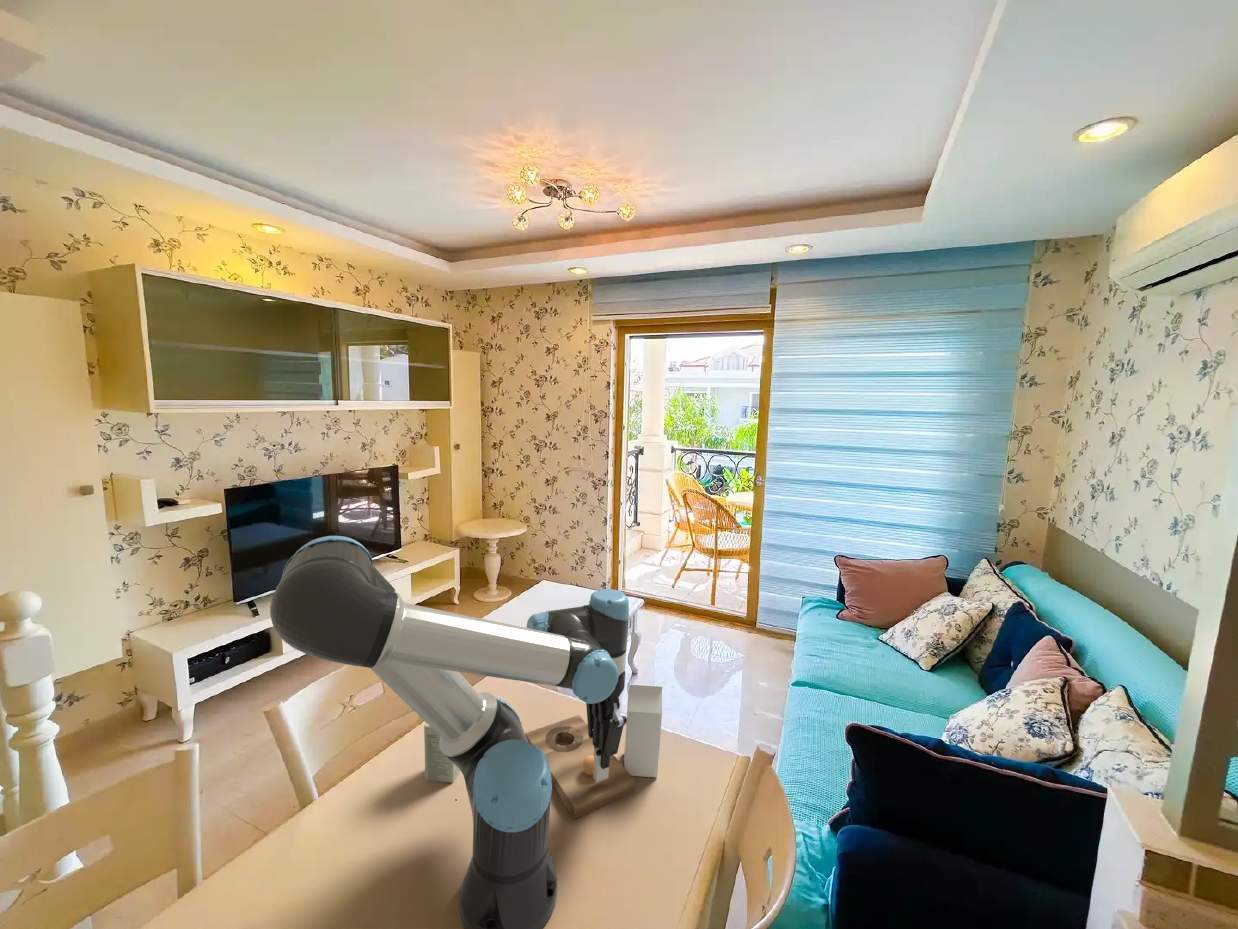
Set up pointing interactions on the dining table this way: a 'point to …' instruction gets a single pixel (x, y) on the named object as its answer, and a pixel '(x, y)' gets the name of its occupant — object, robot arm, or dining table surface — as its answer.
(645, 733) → the milk carton
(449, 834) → the dining table surface
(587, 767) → the ball
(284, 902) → the dining table surface
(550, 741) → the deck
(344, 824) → the dining table surface
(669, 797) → the dining table surface
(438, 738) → the skincare box
